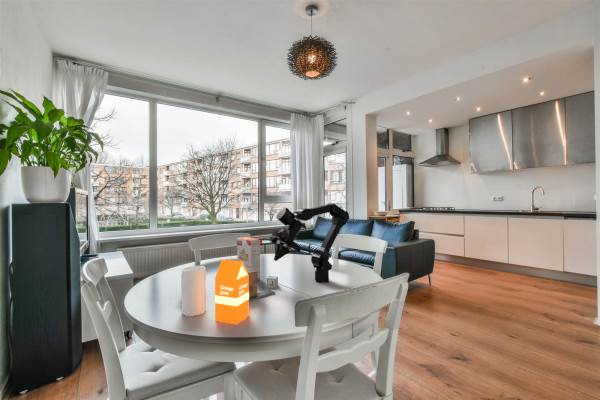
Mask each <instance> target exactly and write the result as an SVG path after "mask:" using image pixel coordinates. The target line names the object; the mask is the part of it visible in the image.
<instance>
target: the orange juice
mask: <svg viewBox="0 0 600 400" xmlns="http://www.w3.org/2000/svg"><path fill="white" fill-rule="evenodd" d="M217 269H218V270H217V272H216V275H215V276H214V310H215V311H214V312H215V313H214V318H215V319H214V320H215V322H222V323H228V324H232V325H234V324H235V325H238V324H239V323H241V322H242V321H243V320H246V319H247V318H248V317H249V316H250V305H249V304H250V300H249V275H248V273H247V271H246V268H245V266H244V264H243V261H237V260H229V259H221V261H220V264H219V266H218V268H217Z"/></svg>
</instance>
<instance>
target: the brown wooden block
mask: <svg viewBox="0 0 600 400" xmlns="http://www.w3.org/2000/svg"><path fill="white" fill-rule="evenodd" d="M247 273H248V275H249V297H253V296H257V295H258V293H259V292H258V289H259V287H258V271H256V270H254V271H248V272H247Z"/></svg>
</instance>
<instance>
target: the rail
mask: <svg viewBox="0 0 600 400" xmlns="http://www.w3.org/2000/svg"><path fill="white" fill-rule="evenodd" d="M274 295H276V291H273V290H271V289H269V290H265V291H260V292H258V295H257V296H253V297H249V301H253V300H256V299H257V300H258V299H261V298H265V297H268V296H274Z"/></svg>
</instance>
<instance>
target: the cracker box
mask: <svg viewBox="0 0 600 400" xmlns="http://www.w3.org/2000/svg"><path fill="white" fill-rule="evenodd" d="M236 253H237V257H236V261H243V264H244V266H245V268H246V271H247V272H248V271H254V270H256V271H258V280H261V239H259V238H258V239H257V238H254V237H249V236H248V237H247V236H243V237H242V236H241V237H240V236H239V237H237V238H236Z"/></svg>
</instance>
